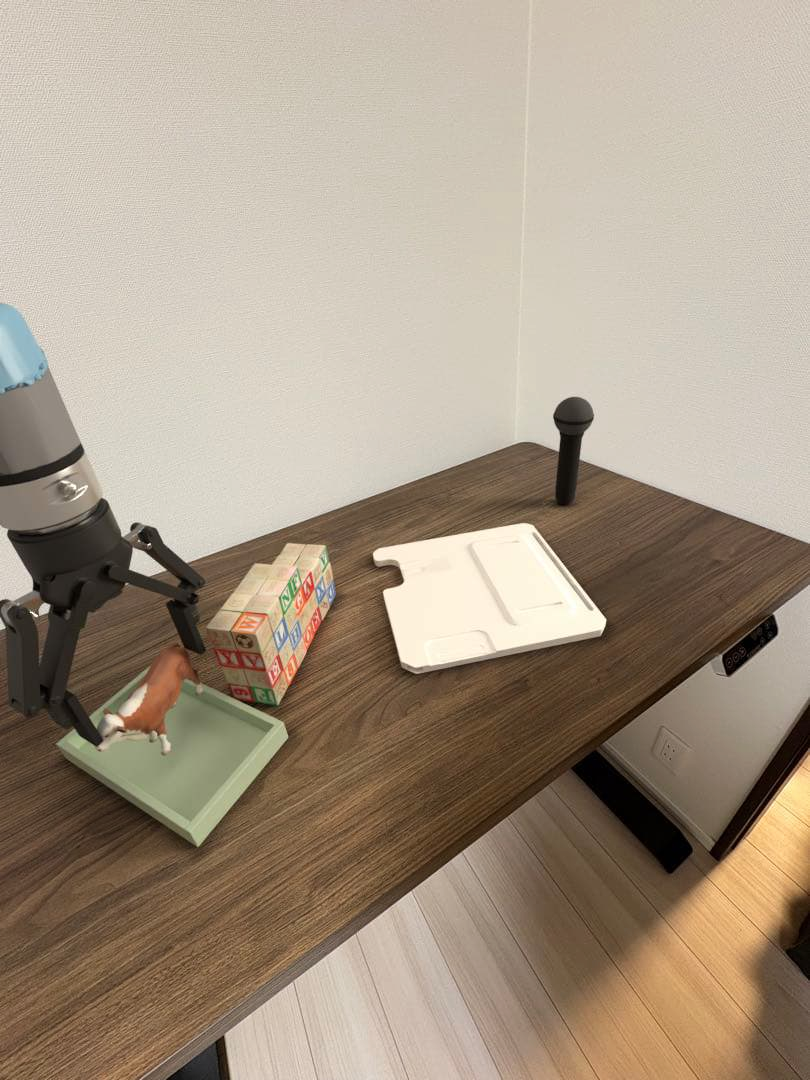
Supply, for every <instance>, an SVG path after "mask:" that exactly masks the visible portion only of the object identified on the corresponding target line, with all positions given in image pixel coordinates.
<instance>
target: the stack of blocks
mask: <svg viewBox="0 0 810 1080" xmlns="http://www.w3.org/2000/svg"><path fill="white" fill-rule="evenodd" d="M332 569H333V568H332V565H331V562H330V558H329V555H328V549H327V546H326V545H324V544H323V545H322V544H311V543H310V544H309V543H307V544H304V543H294V542H293V543H291V542H287V543H286V544H285V546H283V549H282V550H281V551H280V553H279V555H277V557H276V558H275V559H274V561H273V562H272V564H268V563H259V562H258V563H257V562H255V563H254V564H253V565H252V566H251V568H250V569H249V571H247V573H246V574H245V576H244V578H243V579H242V580H241V582H240V583H239V584H238V586H237V587H236V588H235V590H234V592H233V593H231V595H230V596H229V597H228V598H227V600H226V601H225V602H224V603H223V606H221V608H220V610H218V611H217V612H216V614H215V615H214V616H213V617H212V619H211V620H210V622H209V623H208V624H207V626H206V628H205V630H206V631H207V634H208V637H209V640H210V642H211V644H212V649H213V652H214V655H215V658H216V660H217V663H218V665H219V666H220V668H221V671H222V673H223V676H224V678H225V681H226V683H227V687H228V689H229V692H230V694H231V696H232V697H231V698H234V699H236V700H238V701H241V702H242V701H243V702H250V703H257V704H258V703H259V704H265V705H271V706H277V707H278V706H279V705H280V703H281V701H282V699H283V697H284V696H285V693H286V691H287V689H288V687H290V686H291V683H292V681H293V679H294V678H295V676H296V674H297V672H298V670H299V668H300V666H301V664H302V663H303V660H304V658H305V656H306V655H307V651H308V649H309V647H310V645H311V643H312V641H313V639H314V638H315V635H316V634H317V631H318V630H319V627H320V625H321V624H322V621H323V620H324V619H325V617H326V615H327V613H328V611H329V610H330V607H331V606H332V603H333V601H334V599H335V597H336V595H337V592H336V585H335V581H334V575H333V570H332Z"/></svg>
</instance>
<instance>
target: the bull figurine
mask: <svg viewBox="0 0 810 1080" xmlns="http://www.w3.org/2000/svg"><path fill="white" fill-rule="evenodd" d="M149 666H150V668H149V670H148V672H147V673H146V675H145V676H144V678H143V679H142V680H141V682H140V683H139V685H138V686H137V688H136V689H135V690H134V691H133V692H132V693H131V694H130V695H129V697H128V699H127V701H126V702H124V703H123V704H122V705H121V707H120V708H119V710H118V711H117V713H116V714H114V715H112V713H111V712H110V711H108V710H107V709H106V708H104V710H103V712H104V714H105V715H104V716H103V717H102V718H101V720H100V722H99V723H98V726H97V730H98V732H99V734H100V735H101V737H102V738H103V740H104V741H103V742H102V743H101V744H100V745H99V746H97V747H96V746H94V747H95V749H96V750H97V751H99V752H103V751H105V750H107V749H108V748H109V746H110V744H114V743H119V742H121V741H123V740H125V739H128V740H131V741H137V740H140V739H145V738H146V737H148V736H149V735H150V736H149V742H150V743H153V742H155V741H156V740H157V739H159V740H160V741H161V754H162V755H163V756H165V755H168V754H169V753H170V751H171V749H170V746H171V743H169V742H168V741H167V740H166V735H167V733H166V730H165V721H164V719H165V714H166V713H167V712H168V710H169V709H171V708H173V707H175V706H176V700H177V699H178V697H179V695H180V692H181V683H182V682H184V680H185V679H188V680H191V681H193V683H194V685H195V694H196V695H197V696H198V695H201V694H202V693H203V688H202V686H203V684H204V683H202V682H201V680H200V678H199V671H198V669H196V668H195V669H194V668H192V660H191V657H190V654H189V652H188V651H187V649H186V648H184V647H181V645H180V644H179V643H177V642H172V643H170V644H169V645H168V646H167V647H166V648H164V649H163V650H162V651H161V652H160V653H159V655H158V656H157V657H156V659H155V660H154V661H153V662H152V663H151V665H149Z"/></svg>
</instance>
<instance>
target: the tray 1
mask: <svg viewBox="0 0 810 1080" xmlns="http://www.w3.org/2000/svg"><path fill="white" fill-rule="evenodd" d="M150 666H151V665H149V666H147V668H146V669H145V670H142V672H140V673H139V674H138V675H137V676H136V677H135V678H134V679H132V680H131V681H130V682H129V683H128V684H126V685H125V686H124V687H123V688H122V689H120V690H118V692H116V693H115V694H114V695H113V696H112V697H110V698H109V699H107V701H105V702H104V703H103V704H102V705H101V706H100V707H98V708H97V709H96V710H94V712H93V713H91V714H90V715H88V716H89V718H90V719H91V721H92V723H93V724H94V726H95V727H96V729H97V726H98V723H99V722H100V720H101V718H102V717H103V716H104V715H105V714H104V712H103V710H104V708H106V709H107V710H108V711H110V712H111V713H112V715H114V714H116V713H117V711H118V710H119V708H120V707H121V705H122V704H123V703H124V702H126V701H127V699H128V697H129V695H130V694H131V693H132V692H133V691H134V690H135V689H136V688H137V686H138V685H139V683H140V682H141V680H142V679H143V678H144V676H145V675H146V673H147V672H148V670H149V668H150ZM202 684H203V686H202V688H203V693H202V694H201V695H198V696H197V695H196V694H195V685H194V683H193V681H191V680H188V679H185V680H184V682H182V683H181V692H180V695H179V697H178V699H177V700H176V706H175V707H173V708H171V709H169V710H168V712H167V713H166V714H165V719H164V721H165V730H166V733H167V735H166V740H167V741H168V742H169V743H171V746H170V749H171V751H170V753H169V754H168V755H165V756H163V755H162V754H161V741H160V740H159V739H157V740H156V741H155V742H153V743H150V742H149V736H150V735H149V736H148V737H146V738H145V739H140V740H137V741H131V740H128V739H125V740H123V741H121V742H119V743H114V744H110V746H109V748H108V749H107V750H105V751H103V752H99V751H97V750H96V749H95V747H94V745H93V744H91V743H90V742H88V741H87V740H85V739H83V738H82V737H80V736H79V734H78V733H77V731H76V730H75V728H74V727H73V729H72V730H71V731H69V732H68V733H67V734H66V735H65V736H64V737H62V738H60V740H58V742H56V743H55V745H56V747H57V748H58V749H59V751H60V753H61V754H62V755H63V756H64V758H65V760H68V761H69V762H71V763H72V764H74V765H75V766H76V767H78V768H79V769H80V770H82V771H83V772H85V773H87V774H88V775H90V776H91V777H93V778H94V779H96V780H97V781H99V782H100V783H102V784H103V785H105V786H106V787H108V788H109V789H111V790H112V791H113V792H115V793H117V794H118V795H120V796H121V797H122V798H124V799H125V800H127V801H128V802H130V803H131V804H133V805H134V806H136V807H137V808H139V809H140V810H142V811H143V812H145V813H146V814H147V815H149V816H151V817H152V818H154V819H155V820H157V822H159V823H161V824H162V825H164V826H165V827H167V828H168V829H170V830H171V831H173V832H174V833H175V834H177V835H178V836H180V837H182V838H183V839H185V840H186V841H188V842H189V843H191V844H192V845H193V846H195V847H197V848H199V847H200V846H201V845H202V843H203V842H204V841H205V840H206V839H207V837H208V836H209V835H210V834H211V833H212V831H213V830H214V829H215V828H216V826H217V825H218V824H219V822H220V821H221V820H222V819H223V818H224V817H225V815H226V814H227V813H228V812H229V811H230V810H231V808H232V807H233V806H234V804H235V803H236V802H237V801H238V800H239V799H240V797H241V796H242V795H243V794H244V792H245V791H246V790H247V789H248V788H249V786H250V785H251V784H252V783H253V782H254V780H255V779H256V778H257V777H258V776H259V774H260V773H261V772H262V771H263V770H264V768H265V767H266V765H267V764H268V763H269V762H270V761H271V759H272V758H273V757H274V756H275V754H277V752H278V751H279V750H280V749H281V748H282V746H283V745H284V744H285V743H286V742H287V740H288V739H289V735H288V732H287V728H286V725H285V722H284V721H282V720H279V719H278V718H276V717H273V716H272V715H270V714H267V713H265V712H263V711H261V710H259V709H257V708H254V707H252V706H251V705H248V704H246V703H245V702H242V701H241V700H236V699H234V698H233V697H231V696H229V695H227V694H225V693H223V692H221V691H219V690H217V689H215V688H212V687H211V686H209V685H206V684H204V683H202Z"/></svg>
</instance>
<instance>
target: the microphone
mask: <svg viewBox="0 0 810 1080" xmlns="http://www.w3.org/2000/svg"><path fill="white" fill-rule="evenodd" d="M552 419H553V423H554V425H555V428H557V430H558V432H559V445H558V456H557V457H558V459H557V468H556V479H555V491H554V493H555V495H554V498H555V499H556V502H557V503H558V504H559V506H569V505H571V503H572V502H573V501H574V500H575V498H576V492H577V485H578V484H577V483H578V475H579V466H580V459H581V450H582V448H581V447H582V444H583V443H582V441H583V437H584V435H585V432H587V430H589V428H591V426H592V423H593V422H594V419H595V414H594V409H593V407H592V405H591V403H590V402H589V401H588V400H587V399H585V398H583V397H581V396H570V397H567V398H565V399H563V400H561V401H560V402H559V403H558V404H557V406H556V407H555V410H554V412H553V414H552Z"/></svg>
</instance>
